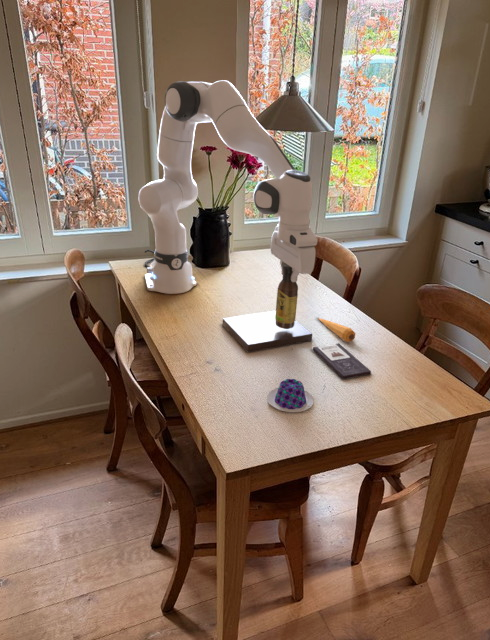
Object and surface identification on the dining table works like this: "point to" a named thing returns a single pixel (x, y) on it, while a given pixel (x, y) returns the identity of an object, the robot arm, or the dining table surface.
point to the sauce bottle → (286, 300)
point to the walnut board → (264, 331)
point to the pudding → (290, 396)
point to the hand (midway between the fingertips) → (289, 278)
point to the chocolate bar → (341, 361)
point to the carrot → (340, 330)
